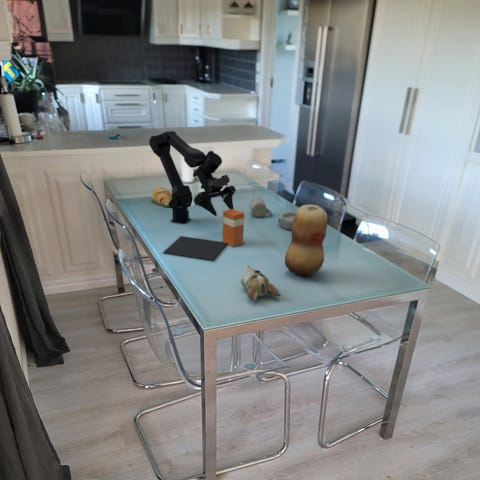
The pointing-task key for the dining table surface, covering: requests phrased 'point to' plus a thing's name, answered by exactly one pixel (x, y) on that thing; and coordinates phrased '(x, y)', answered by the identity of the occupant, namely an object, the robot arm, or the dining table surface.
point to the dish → (286, 220)
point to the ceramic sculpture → (257, 284)
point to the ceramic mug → (259, 207)
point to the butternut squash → (307, 240)
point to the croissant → (161, 196)
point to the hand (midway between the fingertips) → (224, 213)
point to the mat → (196, 248)
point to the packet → (233, 227)
